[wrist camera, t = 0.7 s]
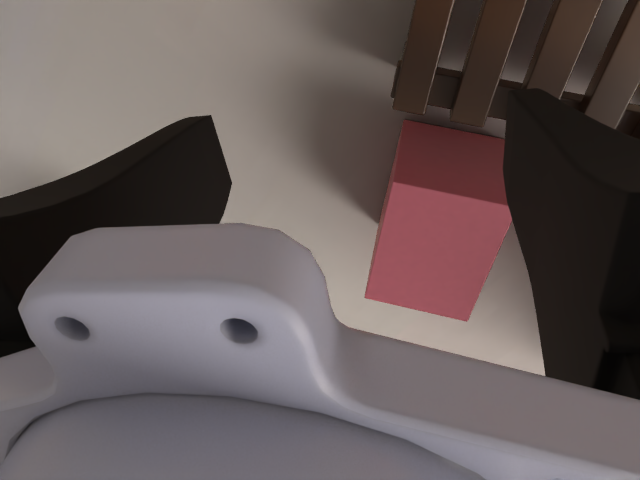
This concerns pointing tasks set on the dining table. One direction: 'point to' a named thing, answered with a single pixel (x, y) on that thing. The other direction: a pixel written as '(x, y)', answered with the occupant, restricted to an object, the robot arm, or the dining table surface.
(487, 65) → the rack
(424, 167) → the pink box
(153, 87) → the dining table surface
